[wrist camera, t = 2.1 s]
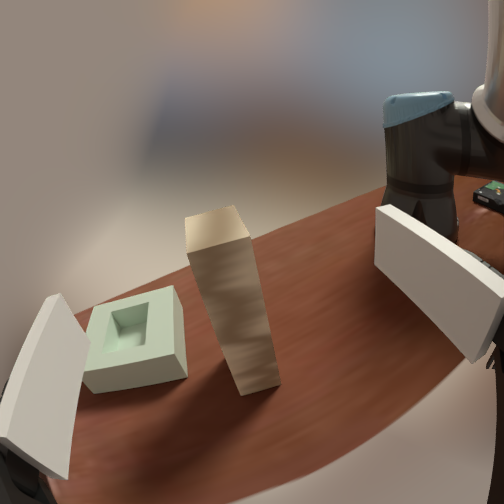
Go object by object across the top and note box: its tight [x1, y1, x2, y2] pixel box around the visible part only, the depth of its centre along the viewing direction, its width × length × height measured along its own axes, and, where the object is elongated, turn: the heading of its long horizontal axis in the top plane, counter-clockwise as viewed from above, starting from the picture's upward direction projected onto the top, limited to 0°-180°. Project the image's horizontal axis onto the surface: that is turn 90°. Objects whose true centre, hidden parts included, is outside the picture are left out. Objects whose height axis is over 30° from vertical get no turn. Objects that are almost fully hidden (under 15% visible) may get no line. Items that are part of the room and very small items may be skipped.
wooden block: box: [185, 205, 281, 396], centre depth 24 cm, size 4×6×16 cm, turn 13°
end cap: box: [82, 285, 188, 394], centre depth 32 cm, size 12×12×4 cm
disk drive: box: [473, 181, 504, 214], centre depth 47 cm, size 10×3×15 cm
